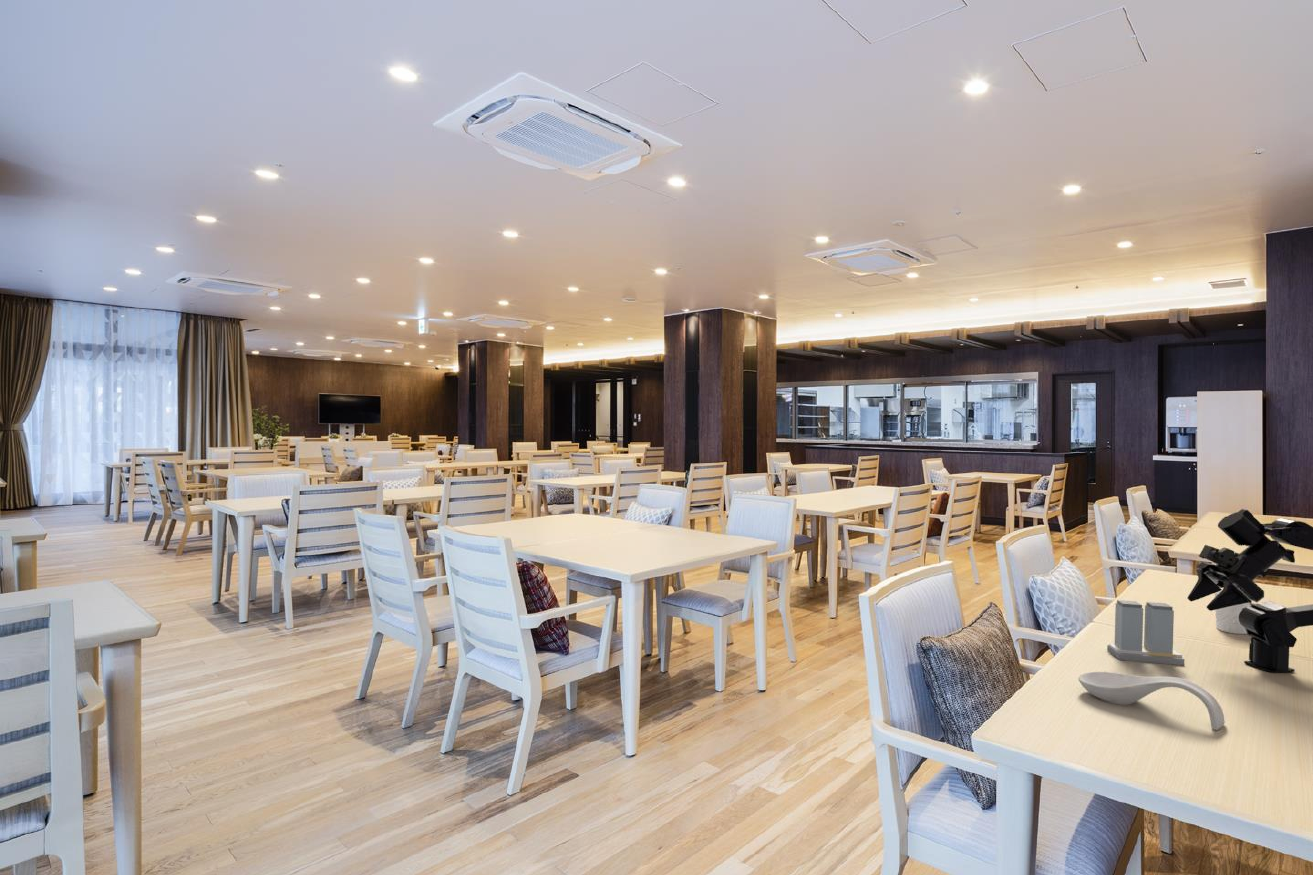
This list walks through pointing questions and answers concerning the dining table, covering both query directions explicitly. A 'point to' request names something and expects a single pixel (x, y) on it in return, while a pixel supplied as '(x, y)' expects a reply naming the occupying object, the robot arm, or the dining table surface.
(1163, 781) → the dining table surface
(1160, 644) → the block
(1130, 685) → the grey spoon
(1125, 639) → the block
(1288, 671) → the robot arm
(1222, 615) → the white cup
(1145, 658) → the rail board
